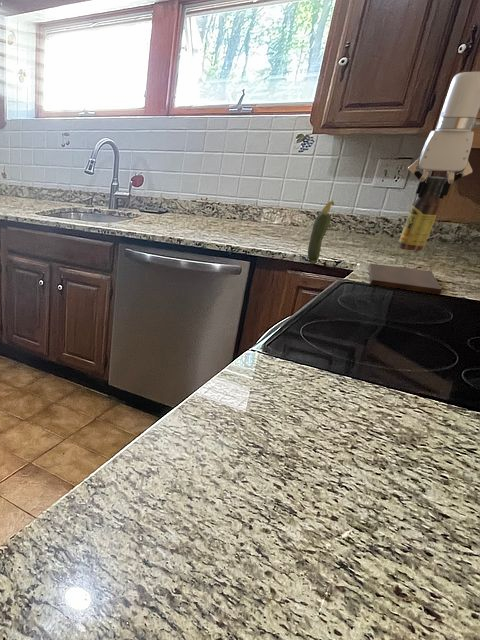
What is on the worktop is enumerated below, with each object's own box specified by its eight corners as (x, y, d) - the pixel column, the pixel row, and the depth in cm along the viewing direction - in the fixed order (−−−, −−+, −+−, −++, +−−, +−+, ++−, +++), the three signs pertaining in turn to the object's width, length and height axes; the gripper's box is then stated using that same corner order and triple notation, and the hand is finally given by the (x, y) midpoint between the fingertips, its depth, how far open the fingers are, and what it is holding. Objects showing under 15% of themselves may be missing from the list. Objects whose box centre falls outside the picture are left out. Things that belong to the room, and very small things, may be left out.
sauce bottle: (395, 245, 155) (421, 175, 147) (421, 248, 153) (448, 177, 144) (397, 249, 150) (424, 176, 142) (424, 252, 147) (452, 178, 139)
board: (429, 275, 161) (431, 271, 160) (440, 294, 142) (442, 289, 141) (368, 267, 168) (369, 263, 167) (370, 284, 149) (371, 279, 149)
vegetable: (301, 262, 172) (318, 199, 164) (306, 260, 175) (322, 198, 167) (316, 265, 170) (333, 201, 161) (320, 263, 172) (338, 200, 164)
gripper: (492, 126, 137) (465, 198, 144) (414, 124, 145) (392, 193, 152) (499, 126, 131) (470, 201, 138) (417, 124, 139) (394, 196, 146)
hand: (429, 196), depth 145 cm, fingers closed on sauce bottle, 4 cm apart
